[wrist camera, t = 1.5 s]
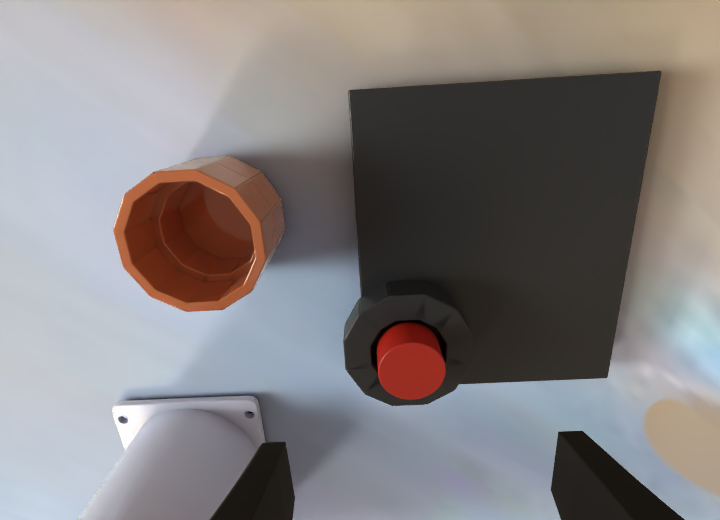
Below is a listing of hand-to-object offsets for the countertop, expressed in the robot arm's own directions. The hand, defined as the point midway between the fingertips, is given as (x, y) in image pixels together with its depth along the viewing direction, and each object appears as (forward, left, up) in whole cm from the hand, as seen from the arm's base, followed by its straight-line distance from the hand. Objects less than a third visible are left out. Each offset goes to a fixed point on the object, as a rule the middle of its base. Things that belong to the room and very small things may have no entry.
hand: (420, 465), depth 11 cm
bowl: (+5, +8, -10) cm, 14 cm away
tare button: (-1, 0, -8) cm, 8 cm away
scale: (+3, -4, -10) cm, 12 cm away
